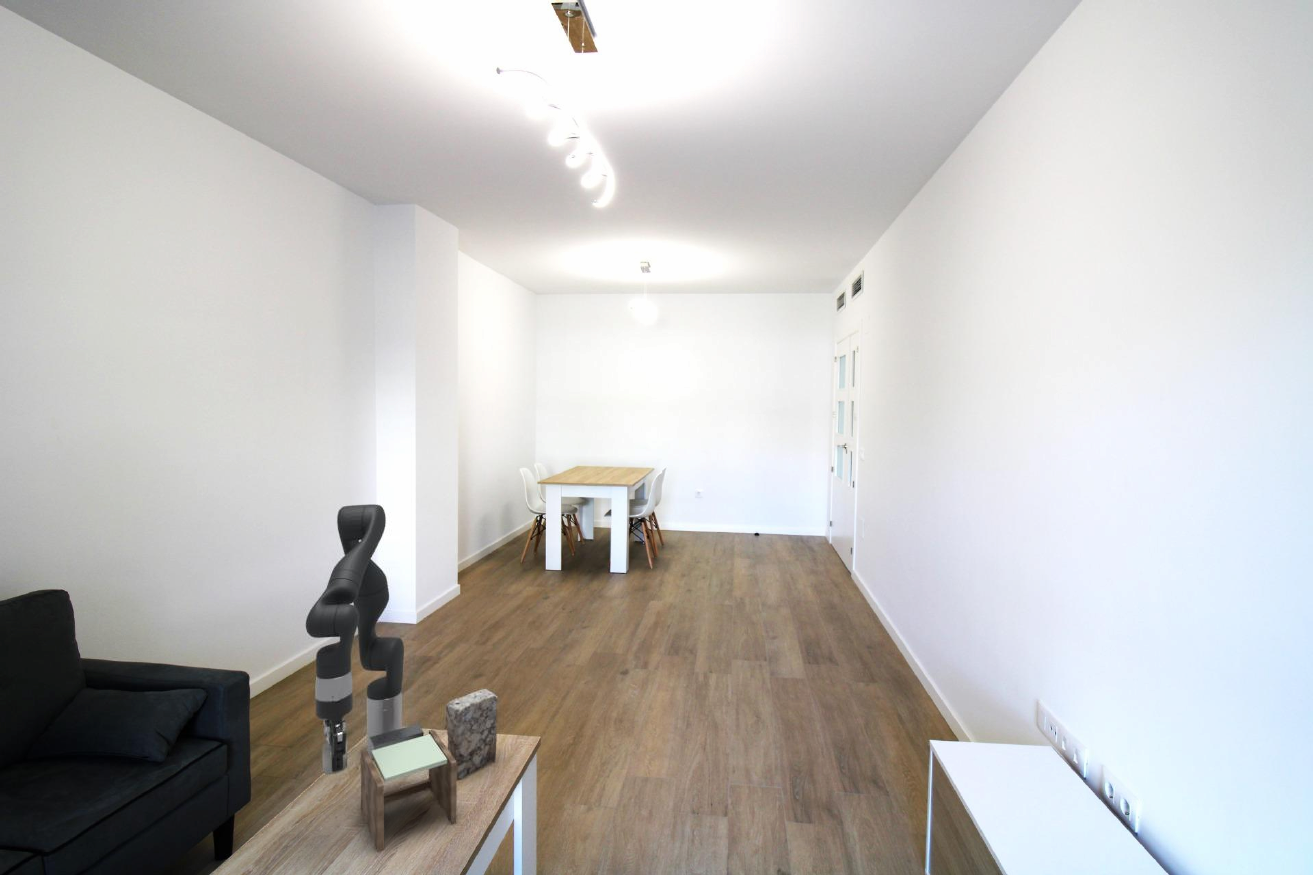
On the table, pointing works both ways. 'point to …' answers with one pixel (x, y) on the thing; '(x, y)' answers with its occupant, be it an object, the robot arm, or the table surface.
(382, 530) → the robot arm
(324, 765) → the smooth gray cylinder
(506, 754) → the table surface
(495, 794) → the table surface
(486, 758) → the stone block
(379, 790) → the stand
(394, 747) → the trapdoor
